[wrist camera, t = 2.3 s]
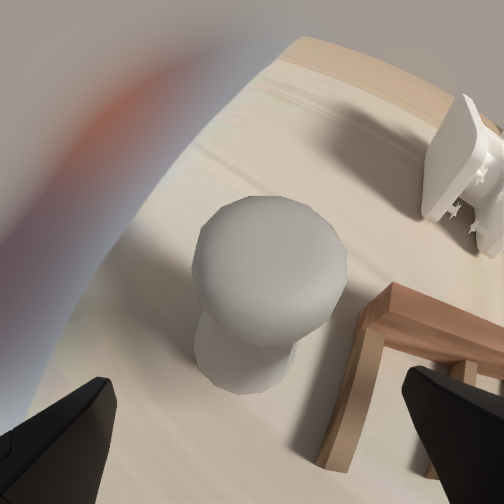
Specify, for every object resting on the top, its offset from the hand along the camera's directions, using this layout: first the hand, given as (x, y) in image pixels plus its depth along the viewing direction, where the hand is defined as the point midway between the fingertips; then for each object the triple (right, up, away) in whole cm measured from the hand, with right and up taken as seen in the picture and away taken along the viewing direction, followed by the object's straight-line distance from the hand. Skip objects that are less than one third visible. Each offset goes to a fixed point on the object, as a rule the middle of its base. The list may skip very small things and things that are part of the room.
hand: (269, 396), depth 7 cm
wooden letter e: (+15, -8, +9) cm, 19 cm away
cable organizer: (+24, +10, +21) cm, 33 cm away
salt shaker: (-1, -3, +11) cm, 11 cm away
